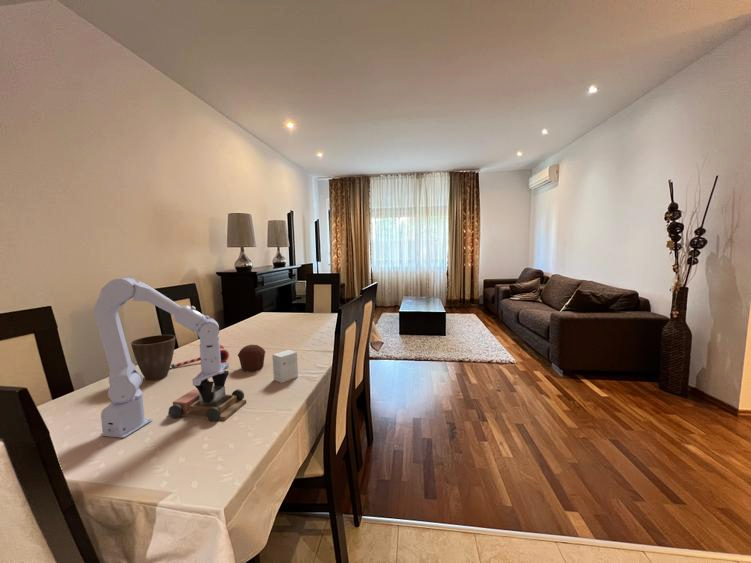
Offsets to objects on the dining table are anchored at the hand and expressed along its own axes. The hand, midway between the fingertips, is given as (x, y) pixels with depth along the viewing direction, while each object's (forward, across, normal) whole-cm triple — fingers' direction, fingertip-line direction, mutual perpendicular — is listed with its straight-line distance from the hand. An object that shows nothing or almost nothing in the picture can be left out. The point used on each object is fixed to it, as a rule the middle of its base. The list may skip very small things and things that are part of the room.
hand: (213, 397), depth 103 cm
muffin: (+4, +36, +8) cm, 37 cm away
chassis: (+4, 0, +2) cm, 4 cm away
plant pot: (+4, +21, +42) cm, 47 cm away
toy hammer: (+4, +40, +34) cm, 53 cm away
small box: (+4, +27, -12) cm, 30 cm away
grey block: (+3, 0, 0) cm, 3 cm away
